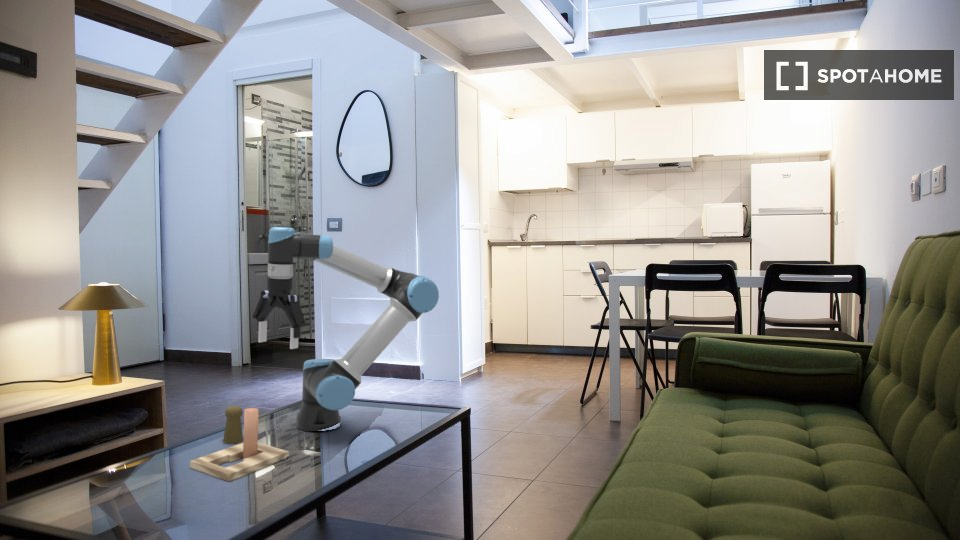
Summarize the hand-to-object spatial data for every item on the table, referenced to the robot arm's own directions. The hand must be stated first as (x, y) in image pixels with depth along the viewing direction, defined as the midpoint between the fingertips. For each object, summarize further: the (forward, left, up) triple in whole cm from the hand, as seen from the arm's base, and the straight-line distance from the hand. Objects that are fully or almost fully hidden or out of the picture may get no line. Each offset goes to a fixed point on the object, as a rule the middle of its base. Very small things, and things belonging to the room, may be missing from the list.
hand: (277, 345), depth 213 cm
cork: (+6, -12, -32) cm, 35 cm away
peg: (+14, +4, -32) cm, 35 cm away
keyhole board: (+17, +4, -32) cm, 36 cm away
